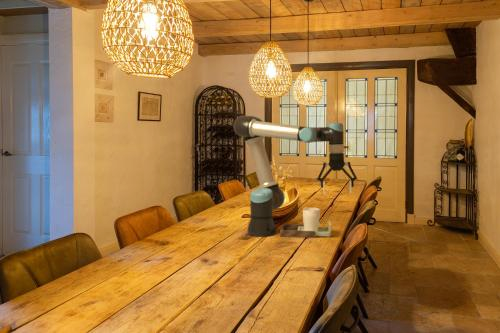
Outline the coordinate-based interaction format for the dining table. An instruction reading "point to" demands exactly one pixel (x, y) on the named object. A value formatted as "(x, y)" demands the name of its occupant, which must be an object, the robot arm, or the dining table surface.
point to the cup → (311, 219)
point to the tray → (320, 230)
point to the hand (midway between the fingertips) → (337, 193)
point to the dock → (295, 231)
